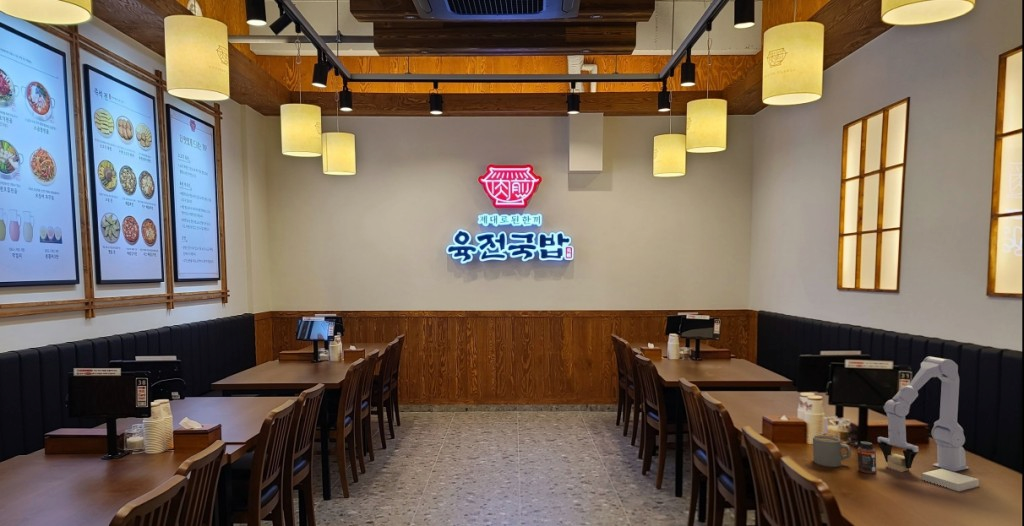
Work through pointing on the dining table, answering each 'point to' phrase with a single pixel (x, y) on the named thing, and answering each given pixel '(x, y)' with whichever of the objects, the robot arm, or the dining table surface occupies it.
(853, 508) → the dining table surface
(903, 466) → the maple cube
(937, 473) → the beige block
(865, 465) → the supplement bottle
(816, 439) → the coffee mug
